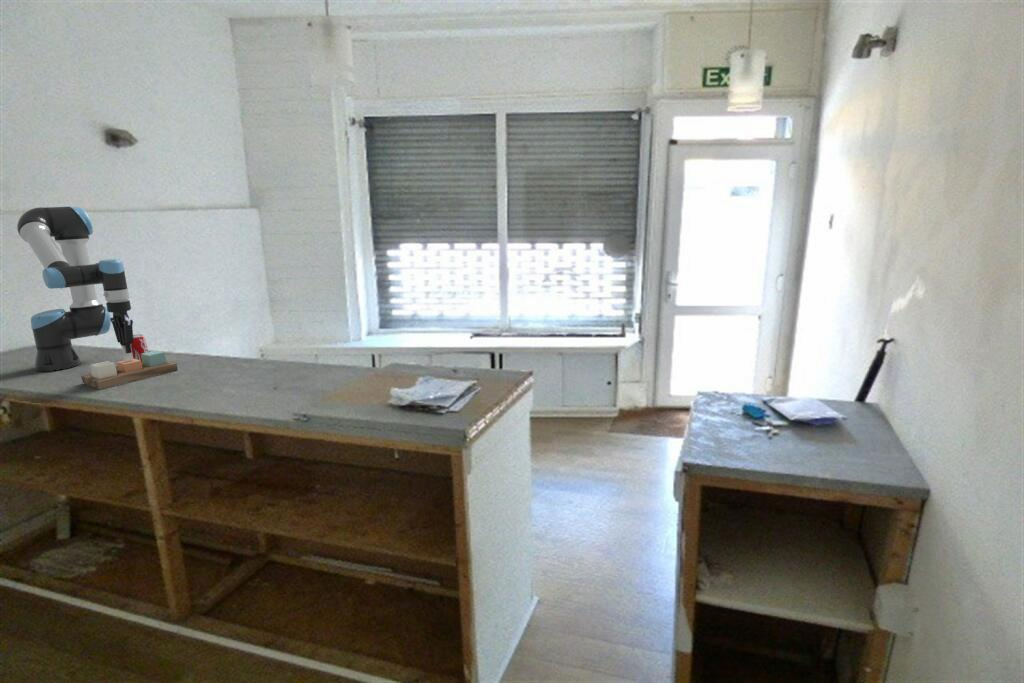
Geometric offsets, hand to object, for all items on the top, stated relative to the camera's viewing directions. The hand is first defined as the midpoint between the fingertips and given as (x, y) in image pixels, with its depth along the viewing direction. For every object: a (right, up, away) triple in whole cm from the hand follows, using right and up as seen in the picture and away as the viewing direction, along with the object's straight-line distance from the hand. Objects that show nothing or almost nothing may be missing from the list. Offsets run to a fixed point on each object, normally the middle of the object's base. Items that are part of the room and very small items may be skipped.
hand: (128, 360), depth 227 cm
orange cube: (0, -6, +1) cm, 6 cm away
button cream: (-5, -6, -6) cm, 10 cm away
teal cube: (+5, -2, +8) cm, 10 cm away
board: (0, -6, +2) cm, 7 cm away
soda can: (-8, -2, +20) cm, 22 cm away
